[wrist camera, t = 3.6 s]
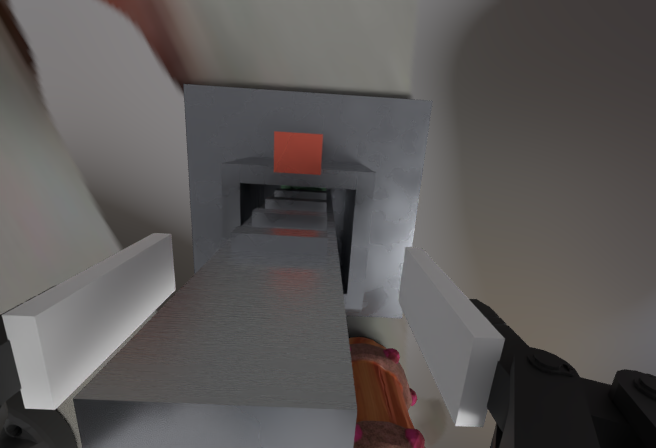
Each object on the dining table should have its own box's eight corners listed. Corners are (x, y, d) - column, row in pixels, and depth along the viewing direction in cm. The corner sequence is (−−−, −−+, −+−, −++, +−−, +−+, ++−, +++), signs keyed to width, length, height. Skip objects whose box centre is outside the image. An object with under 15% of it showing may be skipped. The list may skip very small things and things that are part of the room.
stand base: (201, 302, 27) (143, 377, 19) (189, 86, 23) (105, 52, 14) (399, 312, 28) (432, 389, 19) (428, 102, 23) (489, 79, 14)
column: (278, 236, 25) (109, 584, 5) (279, 179, 23) (65, 362, 4) (327, 239, 25) (338, 590, 5) (331, 182, 24) (361, 375, 4)
